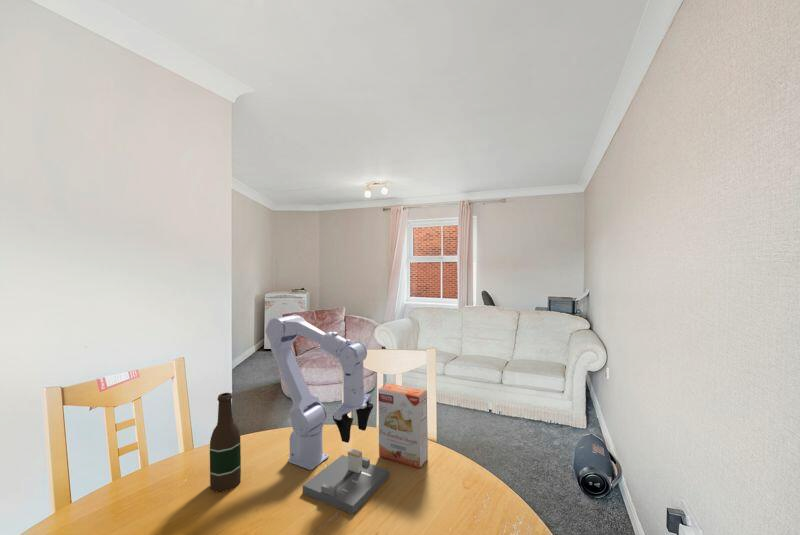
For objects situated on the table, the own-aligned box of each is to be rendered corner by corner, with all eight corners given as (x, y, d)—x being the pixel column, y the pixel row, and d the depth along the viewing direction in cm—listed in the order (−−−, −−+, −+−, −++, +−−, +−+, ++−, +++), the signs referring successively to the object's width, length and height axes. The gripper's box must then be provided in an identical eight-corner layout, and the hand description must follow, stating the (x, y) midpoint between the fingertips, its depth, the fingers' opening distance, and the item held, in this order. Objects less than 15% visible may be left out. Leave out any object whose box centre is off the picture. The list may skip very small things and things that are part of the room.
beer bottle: (246, 483, 92) (245, 393, 92) (215, 497, 86) (214, 402, 86) (235, 471, 97) (234, 387, 97) (205, 484, 91) (204, 394, 91)
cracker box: (378, 457, 103) (377, 388, 103) (388, 448, 108) (387, 382, 109) (419, 470, 96) (418, 396, 96) (428, 459, 102) (427, 389, 102)
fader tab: (347, 469, 93) (347, 451, 93) (351, 466, 95) (351, 448, 95) (358, 473, 92) (358, 454, 92) (362, 470, 93) (362, 451, 93)
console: (302, 493, 87) (302, 479, 87) (342, 461, 101) (342, 449, 101) (353, 514, 79) (352, 499, 79) (388, 477, 93) (388, 464, 93)
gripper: (348, 398, 88) (349, 451, 88) (379, 381, 100) (380, 427, 100) (327, 393, 91) (328, 444, 91) (360, 377, 104) (360, 422, 104)
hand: (354, 435), depth 96 cm, fingers open, 7 cm apart
